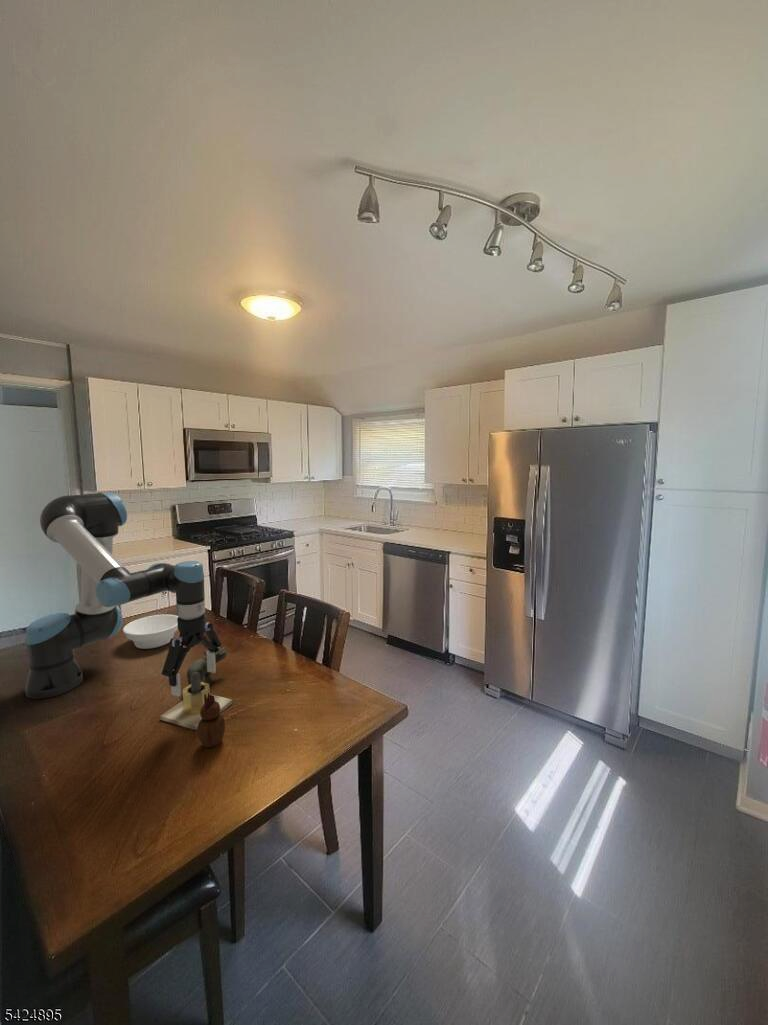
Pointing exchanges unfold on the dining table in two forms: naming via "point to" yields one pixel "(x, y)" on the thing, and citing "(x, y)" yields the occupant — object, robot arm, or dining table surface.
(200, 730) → the wooden figurine
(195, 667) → the dinosaur figurine
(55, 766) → the dining table surface
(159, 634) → the bowl
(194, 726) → the post board
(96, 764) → the dining table surface
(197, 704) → the sleeve
